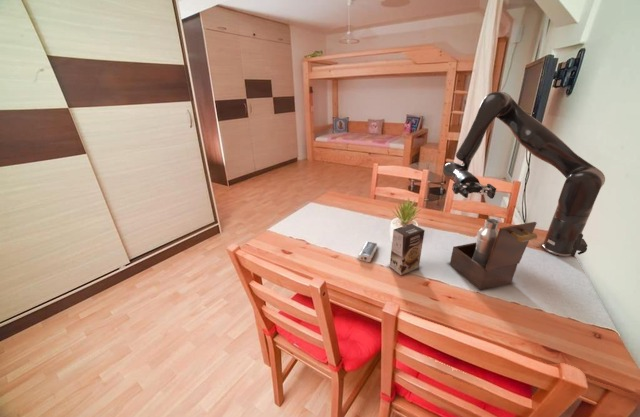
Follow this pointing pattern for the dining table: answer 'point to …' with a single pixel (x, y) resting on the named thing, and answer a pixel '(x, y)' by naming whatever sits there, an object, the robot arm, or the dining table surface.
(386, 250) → the dining table surface
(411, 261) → the coffee box
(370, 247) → the multiport hub
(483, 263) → the silver metal bottle
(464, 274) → the chest
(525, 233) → the lid
